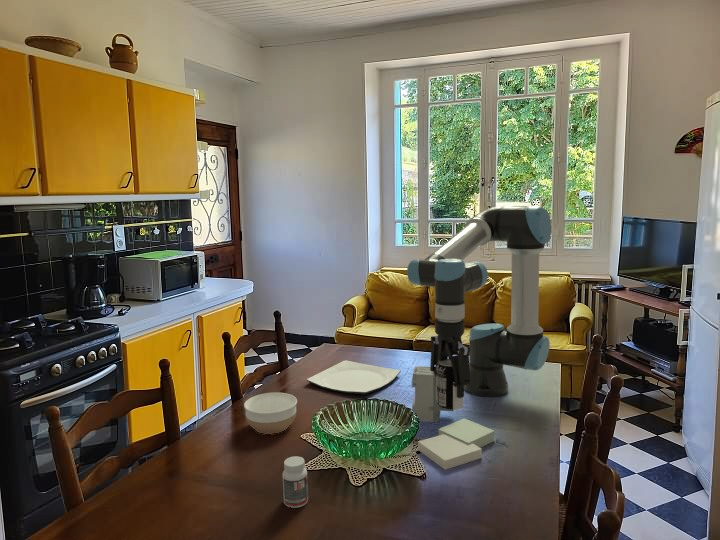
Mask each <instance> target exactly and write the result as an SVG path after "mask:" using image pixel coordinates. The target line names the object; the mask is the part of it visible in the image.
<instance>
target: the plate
mask: <svg viewBox="0 0 720 540" xmlns="http://www.w3.org/2000/svg"><path fill="white" fill-rule="evenodd" d="M401 371H402V370H401V369H397V368H396V369H395V368H390V367H389V368H388V367H382V366H378V365H377V366H376V365H372V364H366V363H361V362H356V361H351V360H345V359H344V360H342V361H341V362H338V363H336V364H335V365H333V366H331V367H329V368H326V369H325V370H322V371H320V372H318V373H316V374H315V375H312V376H311V377H308V378H306V381H307V382H308V383H310V384H312V385H315V386H317V387H320V388H322V389H327V390H331V391H334V392H338V393H345V394H355V395H356V394H357V395H368V394H370V393H372V392H375V391H378V390H380V389H382V388H384V387H385V386H388V384H390V383H392V382H393V381H394V380H395V379H396V378H397V377H398V375H399V374H401Z"/></svg>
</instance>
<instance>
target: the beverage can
mask: <svg viewBox="0 0 720 540" xmlns="http://www.w3.org/2000/svg"><path fill="white" fill-rule="evenodd" d="M438 363H439V364H438V365H437V404H438V405H439V406H440V407H441V408H444V409H453V384H455V380H454V375H453V369H452V365H451V360H450V359H449V358H448V359H447V360H443V361H440V360H439V361H438ZM459 381H460V380H459Z"/></svg>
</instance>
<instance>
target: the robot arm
mask: <svg viewBox="0 0 720 540" xmlns="http://www.w3.org/2000/svg"><path fill="white" fill-rule="evenodd" d="M552 228H553V227H552V219H551V216H550V215H549V213H548V210H547V209H546V208H544V207H543V206H539V205H538V206H537V205H530V204H528V205H498V206H492V207H490V208H487V209H485V210H483V211H481V212H479V213H477V214H475V215H474V216H472V217H471V218H470V219H469V220H467V221H466V222H465V223H464V227H463V228H462V229H461V230H460V231H458V232H457V233H456V234H454V235H453V236H452V237H451V238H449V239H448V240H447V241H445V242H444V243H443V244H442V245H441V246H439V247H438V248H437V249H436V250H435V251H433V252H432V253H430V254H429V255H428V256H427V257H426V258H424V259H423V258H417V259H412V260H411V261H410V262H409V263H408V266H407V268H406V269H407V270H406V276H407V280H408V282H410V284H412V285H417V286H420V287H431V288H434V292H435V293H434V296H435V297H434V302H435V303H434V304H435V305H434V306H435V307H434V308H435V309H434V311H435V312H434V317H435V318H436V319H435V320H434V333H435V334H436V335H434V336H433V335H432V336H430V343H431V349H430V364H429V365H430V366H429V367H430V370H431V371H433V372H434V375H435V376H436V400H437V365H438V364H439V363H438V361H439V360H440V361H443V360H447V359H450V360H451V365H452V369H453V375H454V380H455V384H453V409H454V411H456V410H460V409H463V408H464V397H465V391H466V392H468V393H469V394H472V395H475V396H479V397H480V396H481V397H499V396H503V395H505V394H507V393H508V391H509V383H508V381H507V377H506V374H505V370H504V366H508V367H513V368H517V369H523V370H526V371H527V370H530V371H539V370H540V369H542V367H543V366H544V365H545V363H546V361H547V358H548V356H549V352H550V346H551V345H550V338H549V337H548V336H546V335H544V328H542V326H540V324H539V307H540V306H539V304H540V303H539V301H540V299H539V296H540V295H539V294H540V293H539V291H540V290H539V289H540V253H541V252H542V251H543V250H544V249H545V245H546V244H548V243H549V242H550V241H551V238H552V233H553V232H552V231H553V230H552ZM489 242H506V249H507V250H508V251H509V252H510V254H511V284H510V285H511V293H510V294H511V298H510V299H511V301H510V303H511V304H510V305H511V306H510V307H511V309H510V310H511V311H510V312H511V314H510V317H511V320H510V321H511V323H510V324H509V325H508V326H506V330H505V326H504V325H503V324H502V323H483V324H478V325H474V326H472V328H471V329H470V331H469V339H468V340H469V346H468V345H467V346H465V345H464V344H463V342H462V341H463V340H462V336H463V335H464V334H465V320H464V318H465V313H466V312H465V311H466V310H465V307H466V306H465V295H466V294H465V293H468V292H472V291H475V290H478V289H480V288H482V287H484V286H485V284H486V283H487V282H488V278H489V273H488V269H487V267H486V266H485V264H484V263H482V262H479V261H472V260H471V261H468V262H465V261H464V260H465V259H467V257H468V256H470V255H471V254H472V253H474V251H475V250H477V249H478V248H479V247H480V246H485V245H487V244H488V243H489ZM459 380H460V381H459Z"/></svg>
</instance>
